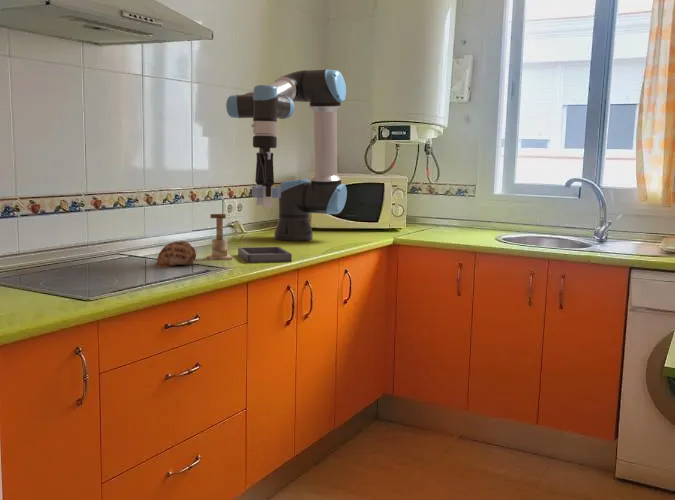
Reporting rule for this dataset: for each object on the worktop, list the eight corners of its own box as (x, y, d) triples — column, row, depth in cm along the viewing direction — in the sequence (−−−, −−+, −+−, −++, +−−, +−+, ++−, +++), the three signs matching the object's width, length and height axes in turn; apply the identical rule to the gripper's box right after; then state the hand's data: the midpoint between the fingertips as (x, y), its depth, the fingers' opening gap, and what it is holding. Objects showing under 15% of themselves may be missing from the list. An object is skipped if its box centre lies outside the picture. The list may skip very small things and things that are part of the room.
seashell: (176, 258, 226) (188, 232, 221) (193, 276, 222) (205, 250, 217) (149, 261, 217) (160, 235, 213) (166, 280, 213) (178, 253, 209)
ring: (251, 196, 235) (251, 186, 235) (275, 196, 237) (275, 186, 237) (257, 197, 226) (257, 187, 226) (282, 197, 228) (282, 187, 228)
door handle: (228, 256, 237) (228, 213, 235) (232, 259, 230) (232, 215, 228) (207, 257, 235) (207, 213, 233) (210, 260, 228) (210, 215, 226)
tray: (279, 254, 244) (279, 246, 244) (291, 261, 228) (291, 253, 228) (238, 255, 240) (238, 247, 240) (247, 263, 224) (247, 255, 224)
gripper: (246, 135, 238) (246, 203, 241) (260, 134, 217) (259, 208, 220) (269, 136, 241) (268, 203, 243) (284, 135, 220) (283, 208, 222)
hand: (264, 206), depth 232 cm, fingers closed on ring, 10 cm apart
